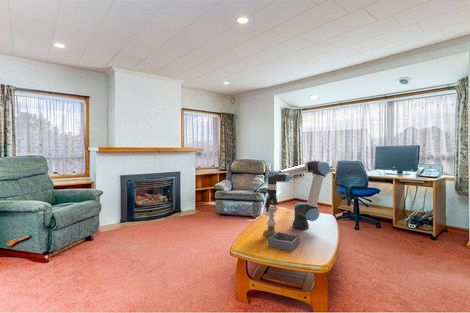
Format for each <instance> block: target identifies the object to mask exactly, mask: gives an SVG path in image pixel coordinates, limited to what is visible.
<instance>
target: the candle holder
mask: <svg viewBox="0 0 470 313" xmlns="http://www.w3.org/2000/svg"><path fill="white" fill-rule="evenodd" d="M269 208H270V211H269V216H268V220H267V221H266V225H267V229H265V230H264V231H262V232H263V233H262V234H263V235H264V237H265V238H266V239H268V238H269V237H271V236H272V235H274V234H275V233H277V232H278V231H276V230H275V229H276V227H275V226H276V221H275V218H274V217H275V213H274V211H275V210H276V211H277V210H278V209H279V208H278V207H277V206H276V207H273V206H269Z"/></svg>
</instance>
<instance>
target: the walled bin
mask: <svg viewBox="0 0 470 313" xmlns="http://www.w3.org/2000/svg"><path fill="white" fill-rule="evenodd" d="M276 232H277V233H275V234H274V235H272V236H271V237H269V238H267V242H268V243H267V244H268V245H267V247H271V248H274V249H280V250H283V251H287V252H292V251H294V250H295V249H296V248H297V247H298V246H299V245H300V243H301V235H297V234H292V233H286V232H281V231H276Z"/></svg>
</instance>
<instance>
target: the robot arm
mask: <svg viewBox="0 0 470 313" xmlns="http://www.w3.org/2000/svg"><path fill="white" fill-rule="evenodd" d="M330 170H331V167H330V165H329V163H328V162H327V161H323V160H311V161H307V162H304V163H302V164H300V165H296V166H292V167H288V168H285V169H281V170H268V172H267V186H266V187H267V192H266V194H268V195H267V196H266V200H265V205H264V208H265V209H266V210H265V216H268V217H269V211H270V208H269V207H271V203H272V207H277V206H278V198H277V186H278V185H277V183H286V182H287V183H288V182H290V180H291V177H293V176H296V175H300V174H309V173H311V174H312V181H311V185H310V190H309V192H308V193H309V194H308V197H307V202H296V203H295V204H294V213H293V214H294V219H293V221H292V223H291V224H292V228H294V229H297V230H308V229H309V228H310V225H309V222H314V221H315V222H316V220H318V218H319V217H320V211H319V210H318V209H319V206H318V202H319V197H320V194H321V190H322V185H323V181H324V179H325V178H327V177H326V175H328V174H329V173H330ZM276 212H277V210H275V211H274V214H276Z"/></svg>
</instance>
